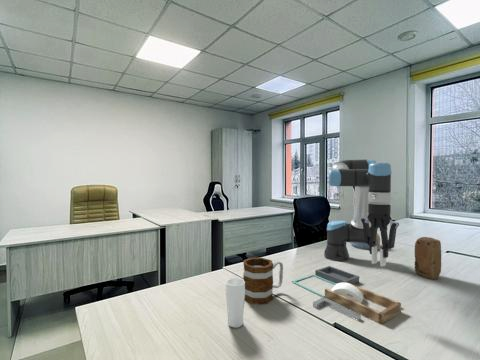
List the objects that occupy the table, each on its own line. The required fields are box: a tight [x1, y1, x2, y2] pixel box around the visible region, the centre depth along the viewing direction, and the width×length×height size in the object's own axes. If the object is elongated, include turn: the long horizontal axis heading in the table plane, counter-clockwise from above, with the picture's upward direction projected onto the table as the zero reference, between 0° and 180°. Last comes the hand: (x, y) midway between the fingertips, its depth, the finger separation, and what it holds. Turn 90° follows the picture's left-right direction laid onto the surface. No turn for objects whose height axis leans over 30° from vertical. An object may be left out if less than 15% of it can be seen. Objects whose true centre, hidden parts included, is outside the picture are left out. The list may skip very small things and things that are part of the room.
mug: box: [242, 257, 284, 305], centre depth 110 cm, size 20×14×15 cm
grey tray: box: [314, 265, 360, 285], centre depth 128 cm, size 17×11×3 cm, turn 34°
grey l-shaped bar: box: [312, 297, 362, 321], centre depth 96 cm, size 16×7×2 cm, turn 36°
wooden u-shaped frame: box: [324, 282, 402, 325], centre depth 102 cm, size 24×14×4 cm, turn 34°
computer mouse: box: [330, 283, 364, 304], centre depth 108 cm, size 6×13×6 cm, turn 59°
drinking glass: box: [225, 277, 246, 329], centre depth 88 cm, size 7×7×15 cm
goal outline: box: [291, 274, 336, 298], centre depth 120 cm, size 19×16×1 cm
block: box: [414, 236, 442, 280], centre depth 132 cm, size 11×8×20 cm
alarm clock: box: [349, 232, 381, 251], centre depth 187 cm, size 19×20×12 cm
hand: (378, 264), depth 96 cm, fingers open, 3 cm apart
